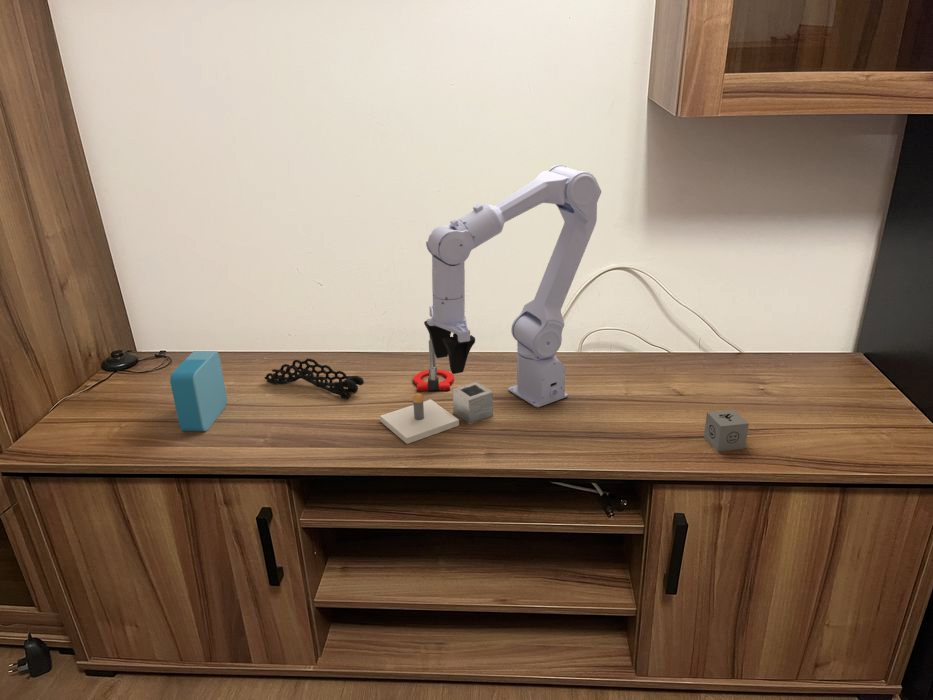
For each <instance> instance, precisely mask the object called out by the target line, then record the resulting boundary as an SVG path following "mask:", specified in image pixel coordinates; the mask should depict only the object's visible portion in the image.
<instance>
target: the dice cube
mask: <svg viewBox="0 0 933 700" xmlns="http://www.w3.org/2000/svg"><path fill="white" fill-rule="evenodd" d="M704 425H705V427H704V433H703V438H704V439H705V440H706V441H707V442H708V443H709V444H710V446H712V447H713V449H714V450H715V451H716V452H717V453H719V452H727V451H737V450H745V449H746V445H747V438H748V430H749V425H750V424H749V422H748V421H747V420H746V419H745V418H744V416H742V415H741V414H740V413H738V412H737V410H736V409H734V408H733V409H725V410H723V409H722V410H716V411H713V410H712V411H707V412H706V418H705V424H704Z"/></svg>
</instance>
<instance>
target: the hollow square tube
mask: <svg viewBox="0 0 933 700" xmlns="http://www.w3.org/2000/svg"><path fill="white" fill-rule="evenodd" d="M452 402H453V403H452V405H453V409H452V410H453V412H452V413H453V414H455V415H456V416H457V417H458V418H459V419H461V420H463V421H464V422H466V423H467V424H469V425H471V424H475V423H478V422H480V421H482V420H484V419H488V418H490V417H491V418H492V417H494V391H493V390H491V389H489V388H488V387H486V386H484V385H482V384H481V383H479V382H478V381H475V382H474V381H473V382H471V383H467V384H465V385H462V386H459V387H455V388H453V389H452Z"/></svg>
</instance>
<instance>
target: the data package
mask: <svg viewBox="0 0 933 700" xmlns="http://www.w3.org/2000/svg"><path fill="white" fill-rule="evenodd" d="M169 381H170V382H169V383H170V387H171V392H172V397H173V401H174V406H175V410H176V416H177V419H178V425H179V428H180V430H181V431H182V432H207V431H208V430H209V429H210V427H212V425H213V424H214V423H215V421H216V420H217V419H218V417H219V416H220V415H221V413H222V412H223V411H224V410H225V408H226V406H227V404H228V396H227V392H226V391H227V390H226V385H225V380H224V375H223V368H222V363H221V358H220V354H219V352H218V351H216V350H214V351H213V350H195V351H193V352H191V353H190V354H189V355H188V356H187V357H186V358H185V359H184V360H183V361H182V362H181V363H180V364H179V365H178V367H176V368H174V370H173V371H172V373H171V375H170V380H169Z"/></svg>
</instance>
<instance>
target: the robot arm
mask: <svg viewBox="0 0 933 700" xmlns="http://www.w3.org/2000/svg"><path fill="white" fill-rule="evenodd" d="M601 195H602V190H601V187H600V185H599V182H598V180H597V178H596V177H595V175H593V173H590V172H588V171H581V170H579V169H578V170H577V169H574V168H571V167H567V166H566V165H563V164H555V165H553V166H551V167H550V168H549V169H548V170H544V171H542V172H540V173H539V174H538V175H537V176H536V177H535V178H534V179H533V180H532V181H530V182H528V183H527V184H525V185H524V186H522V187H521V188H520V189H519V188H518V189H517V191H515V192H513V193H512V194H510V195H509V196H507V197H506V198H504V199H503V200H502V201H500V202H498V203H497V204H495V205H491V204H489V203H484V204H479V203H477V204H475V205H474V206H473V207H472V209H473V210H472V211H470V212H468V213H467V214H465V215H462V217H460V218H457V219H456V218H453V219H452V220H450V223H449V225H439V226H437V227H435V228H434V229H433V230H432V231H431V233H430V234H429V235H428V239H427V241H426V242H425V246H426V249H427V250H428V252H429V254H430V255H431V261H432V262H431V264H432V265H431V269H432V270H431V280H432V281H431V286H432V287H431V288H432V305H430V306H429V316H430V318H426V320H425V321H424V322H423V324H424V326H425V328H426V329H427V332H428V335H429V334H430V337H431V340H432V344H433V348H434V352H435V358H436V359H442V358H447V357H448V361H449V362H448V363H449V369H450V373H452V374H453V375H457V374H462V373H464V370H465V367H466V365H467V364H466V363H467V359H468V355H469V353H470V351H471V349H472V347H473V346H474V345H475V344H476V337H475V336H473V335H472V334H471V330H470V329H469V327H468V323H467V318H466V315H465V312H466V311H465V309H466V308H465V307H466V306H465V305H466V303H465V302H466V301H465V300H466V298H465V297H466V295H465V285H466V284H465V283H466V282H465V280H466V279H465V276H466V272H465V271H466V270H465V262H466V261H467V259H468V258H469V257H470V255H471V251H472V250H474V249H477V247H479V246H481V245H482V244H484V243H486V242H488V241H489V240H491V239H492V238H494V237H496V236H498V235H499V234H501V233H502V231H503V229H504V226H505V223H507V222H508V221H511V220H512V219H514V218H516V217H518V216H520V215H522V214H524V213H526V212H528V211H530V210H532V209H533V208H536V207H537V206H539V205H542V204H549V205H551V204H552V205H555V206H556V207H557V209H558V211H559V213H560V214H561V217H562V219H563V221H564V222H563V226H562V229H561V230H560V234H559V235H558V238H557V241H556V244H555V246H554V249H553V251H552V253H551V256H550V258H549V260H548V263H547V266H546V268H545V271H544V274H543V276H542V278H541V280H540V282H539V286H538V288H537V291H536V293H535V296H534V299H532V300H531V301H529V302H526V304H524V305H523V307H522V310H521V312H520V313H519V314H518V315H517V316H516V317H515V319H514V320H513V322H512V324H511V332H510V333H511V336H512V337H513V339H514V340H515V341H516V343H517V344H516V348H517V349H516V350H517V352H516V353H517V358H516V361H517V363H516V364H517V365H516V367H517V368H516V371H517V374H516V384H515V385H512V386H509V387H508V388H507V389H508V391H509V392H510V393H512V394H514V395H515V396H517V397H518V398H520V399H522V400H523V401H525V402H527V403H528V404H530V405H532V406H533V407H535V408H540V407H542V406H545V405H548V404H552V403H553V402H557V401H560V400H562V399H565V398H567V397H569V395H568V394H569V393H567V392H566V390H565V389H566V367H565V365H564V363H563V362H562V361H560V360H559V359H558V357H557V356H556V353H557V352H558V351H559V350H560V348H561V345H562V342H563V338H562V335H563V334H562V333H563V329H564V327H565V321H564V318H563V314H562V308H563V306H564V303H565V300H566V299H567V295H568V293H569V290H570V289H571V287H572V283H573V281H574V279H575V276H576V274H577V272H578V269H579V267H580V264H581V261H582V259H583V257H584V254H585V251H586V249H587V247H588V244H589V242H590V240H591V237H592V234H593V232H594V230H595V227H596V224H597V219H598V217H597V216H598V215H597V214H598V202H599V199H600V196H601ZM451 335H452V336H451ZM430 337H429V338H430Z"/></svg>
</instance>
